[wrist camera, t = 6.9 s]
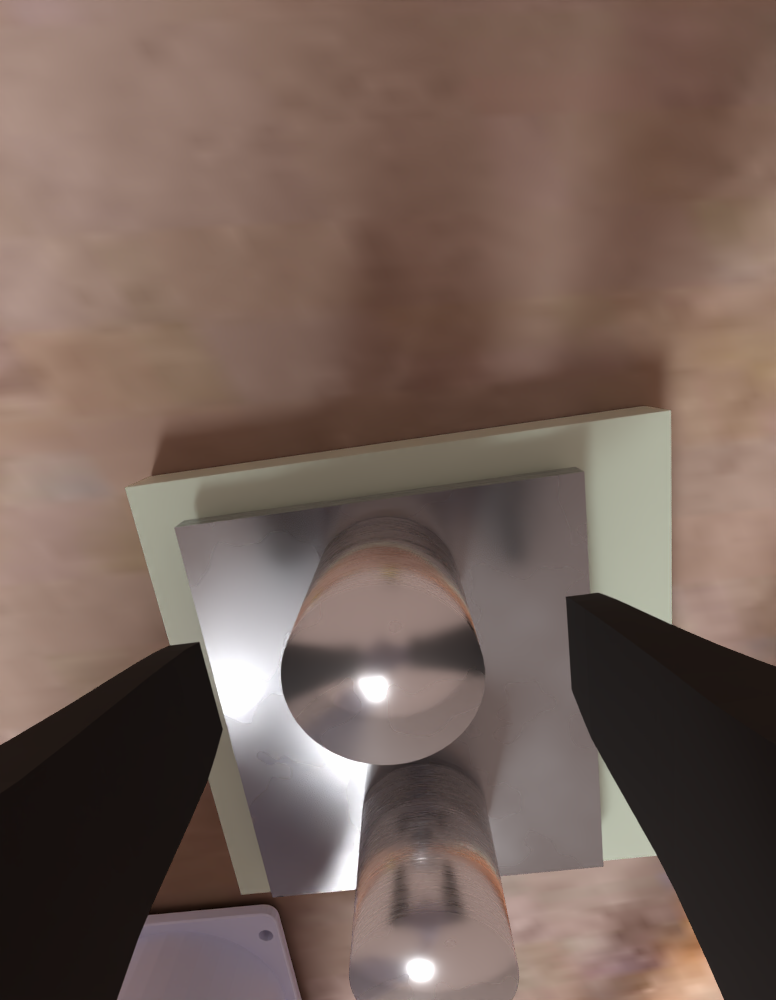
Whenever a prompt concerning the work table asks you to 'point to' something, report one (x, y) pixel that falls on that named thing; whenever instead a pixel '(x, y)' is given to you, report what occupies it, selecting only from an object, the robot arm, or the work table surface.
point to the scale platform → (504, 645)
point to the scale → (417, 464)
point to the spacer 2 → (429, 893)
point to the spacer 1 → (384, 647)
